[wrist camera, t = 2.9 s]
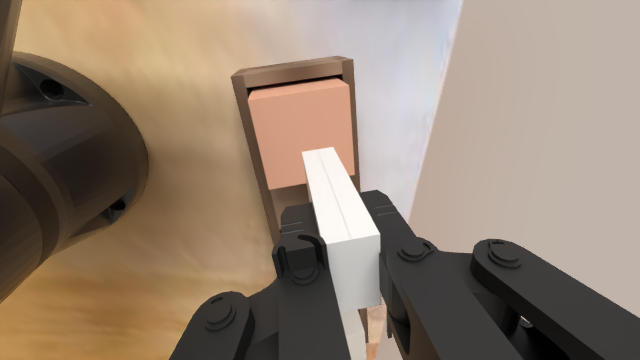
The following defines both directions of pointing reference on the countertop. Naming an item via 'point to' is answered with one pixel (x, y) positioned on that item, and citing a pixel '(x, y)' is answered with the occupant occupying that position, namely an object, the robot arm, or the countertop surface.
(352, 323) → the off-white key
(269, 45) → the countertop surface
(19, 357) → the countertop surface
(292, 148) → the terracotta key
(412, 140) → the countertop surface
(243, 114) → the brown wooden long tray
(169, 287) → the countertop surface
